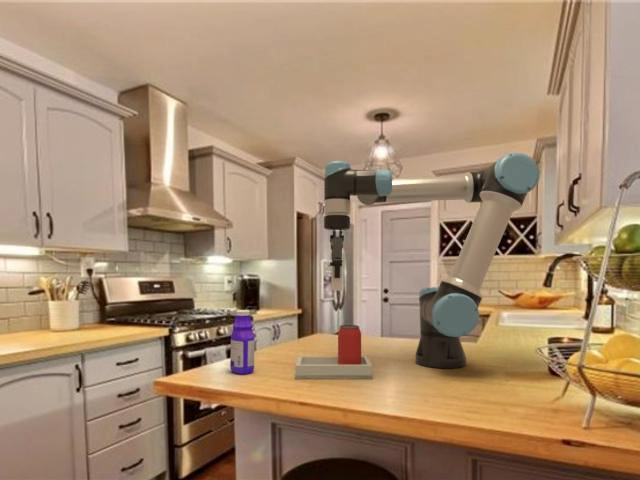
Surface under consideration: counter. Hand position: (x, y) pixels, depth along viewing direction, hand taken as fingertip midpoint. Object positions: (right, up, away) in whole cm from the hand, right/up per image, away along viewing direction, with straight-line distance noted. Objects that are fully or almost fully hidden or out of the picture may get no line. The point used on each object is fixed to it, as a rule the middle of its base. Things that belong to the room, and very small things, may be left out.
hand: (336, 289), depth 117 cm
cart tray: (-1, -23, -2) cm, 23 cm away
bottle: (-27, -24, 0) cm, 36 cm away
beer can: (+4, -22, -2) cm, 23 cm away
